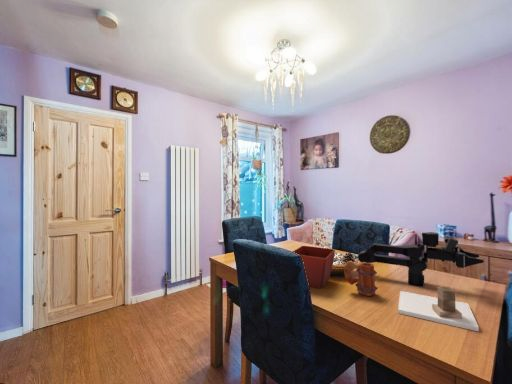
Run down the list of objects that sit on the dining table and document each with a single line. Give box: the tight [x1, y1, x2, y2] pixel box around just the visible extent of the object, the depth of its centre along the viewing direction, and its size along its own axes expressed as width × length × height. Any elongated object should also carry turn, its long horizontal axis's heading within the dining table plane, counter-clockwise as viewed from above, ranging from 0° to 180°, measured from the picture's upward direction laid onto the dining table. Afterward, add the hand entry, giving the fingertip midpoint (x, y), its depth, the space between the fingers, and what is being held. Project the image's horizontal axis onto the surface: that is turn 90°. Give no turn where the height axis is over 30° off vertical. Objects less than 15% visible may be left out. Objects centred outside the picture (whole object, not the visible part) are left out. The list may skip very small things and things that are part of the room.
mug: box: [343, 260, 378, 297], centre depth 115 cm, size 15×8×15 cm, turn 71°
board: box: [397, 290, 480, 332], centre depth 98 cm, size 24×20×2 cm
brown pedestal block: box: [432, 286, 462, 319], centre depth 92 cm, size 7×6×10 cm
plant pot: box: [292, 245, 336, 289], centre depth 129 cm, size 19×19×17 cm
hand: (481, 258), depth 111 cm, fingers open, 9 cm apart
